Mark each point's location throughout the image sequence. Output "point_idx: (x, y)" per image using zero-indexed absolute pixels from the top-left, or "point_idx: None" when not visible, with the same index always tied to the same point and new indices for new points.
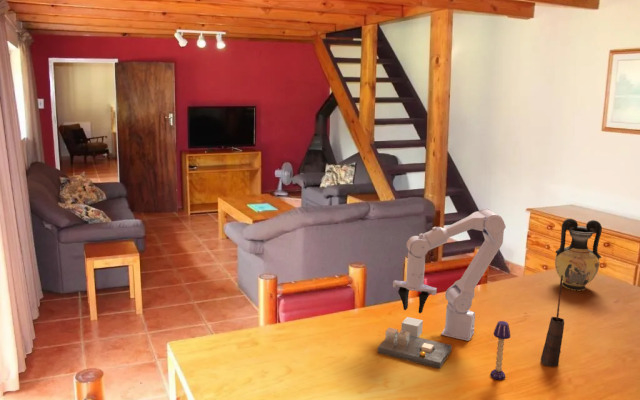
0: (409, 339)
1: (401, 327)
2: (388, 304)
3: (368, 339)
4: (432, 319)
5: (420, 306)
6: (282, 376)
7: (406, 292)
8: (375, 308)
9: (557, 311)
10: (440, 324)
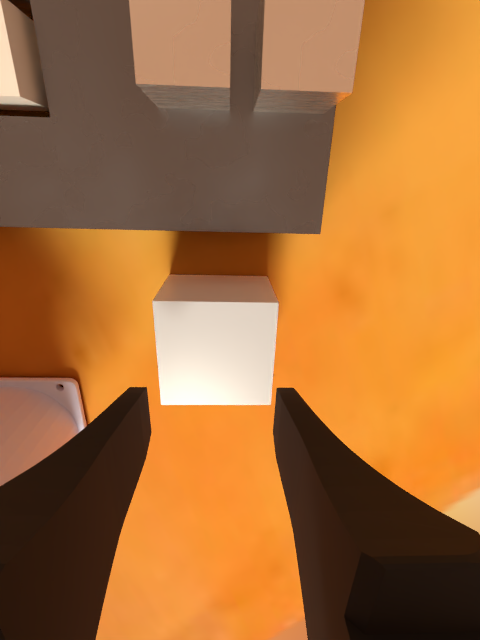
0: (173, 162)
1: (273, 291)
2: None
3: (449, 108)
4: (183, 497)
5: (97, 429)
6: None
7: (331, 603)
8: (453, 483)
9: None
10: None
